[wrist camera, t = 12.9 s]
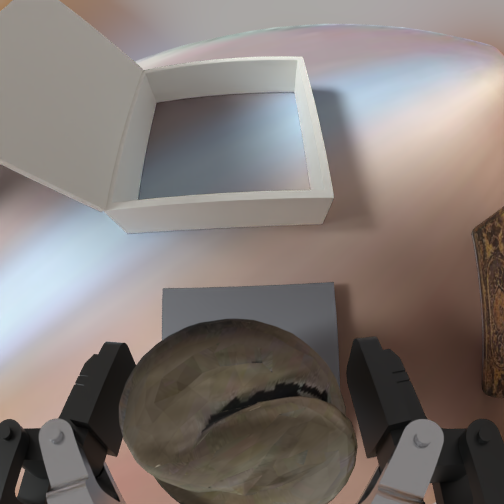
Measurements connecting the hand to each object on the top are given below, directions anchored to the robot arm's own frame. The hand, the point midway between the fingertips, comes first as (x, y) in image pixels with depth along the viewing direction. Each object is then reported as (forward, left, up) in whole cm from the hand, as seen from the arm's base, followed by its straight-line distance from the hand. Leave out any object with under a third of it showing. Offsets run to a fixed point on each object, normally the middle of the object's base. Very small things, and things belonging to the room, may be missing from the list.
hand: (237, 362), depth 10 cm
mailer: (-13, +14, -11) cm, 22 cm away
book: (+21, +11, -11) cm, 26 cm away
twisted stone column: (+1, -1, -10) cm, 10 cm away
